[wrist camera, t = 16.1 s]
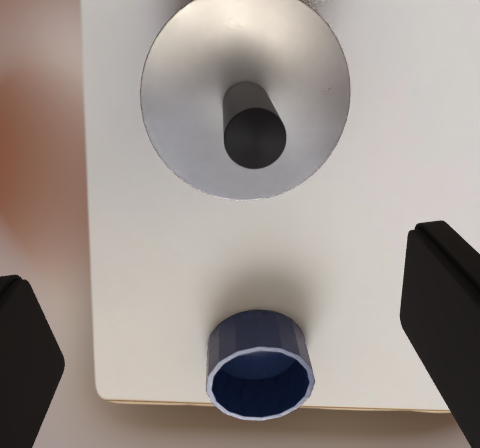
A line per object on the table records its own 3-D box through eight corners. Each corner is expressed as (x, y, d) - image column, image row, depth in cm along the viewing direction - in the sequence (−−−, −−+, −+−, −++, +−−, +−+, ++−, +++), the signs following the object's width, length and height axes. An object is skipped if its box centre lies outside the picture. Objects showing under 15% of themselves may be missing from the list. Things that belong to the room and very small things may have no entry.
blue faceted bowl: (203, 377, 48) (201, 417, 44) (213, 305, 43) (213, 343, 38) (293, 382, 50) (301, 422, 45) (314, 314, 44) (325, 351, 40)
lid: (140, 182, 27) (114, 243, 20) (146, -34, 21) (113, -50, 14) (318, 203, 28) (349, 266, 21) (371, 5, 22) (437, 7, 15)
